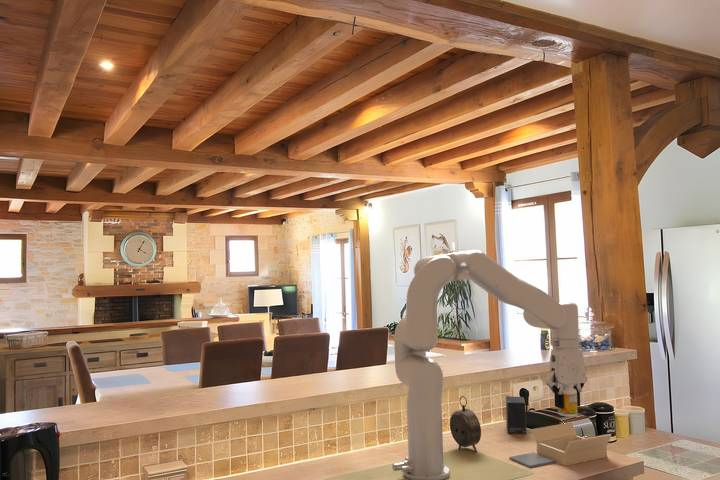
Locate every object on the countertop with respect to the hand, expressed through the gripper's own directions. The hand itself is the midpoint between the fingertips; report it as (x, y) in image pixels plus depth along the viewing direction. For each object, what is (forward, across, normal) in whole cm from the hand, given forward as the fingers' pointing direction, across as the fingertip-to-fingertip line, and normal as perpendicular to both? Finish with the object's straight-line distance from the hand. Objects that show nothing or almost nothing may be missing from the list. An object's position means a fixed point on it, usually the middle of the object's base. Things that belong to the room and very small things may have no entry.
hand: (567, 405), depth 173 cm
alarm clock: (+15, -22, +21) cm, 34 cm away
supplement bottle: (+3, 0, 0) cm, 3 cm away
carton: (+14, +1, 0) cm, 14 cm away
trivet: (+15, -12, +2) cm, 19 cm away
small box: (+15, +6, +31) cm, 35 cm away
